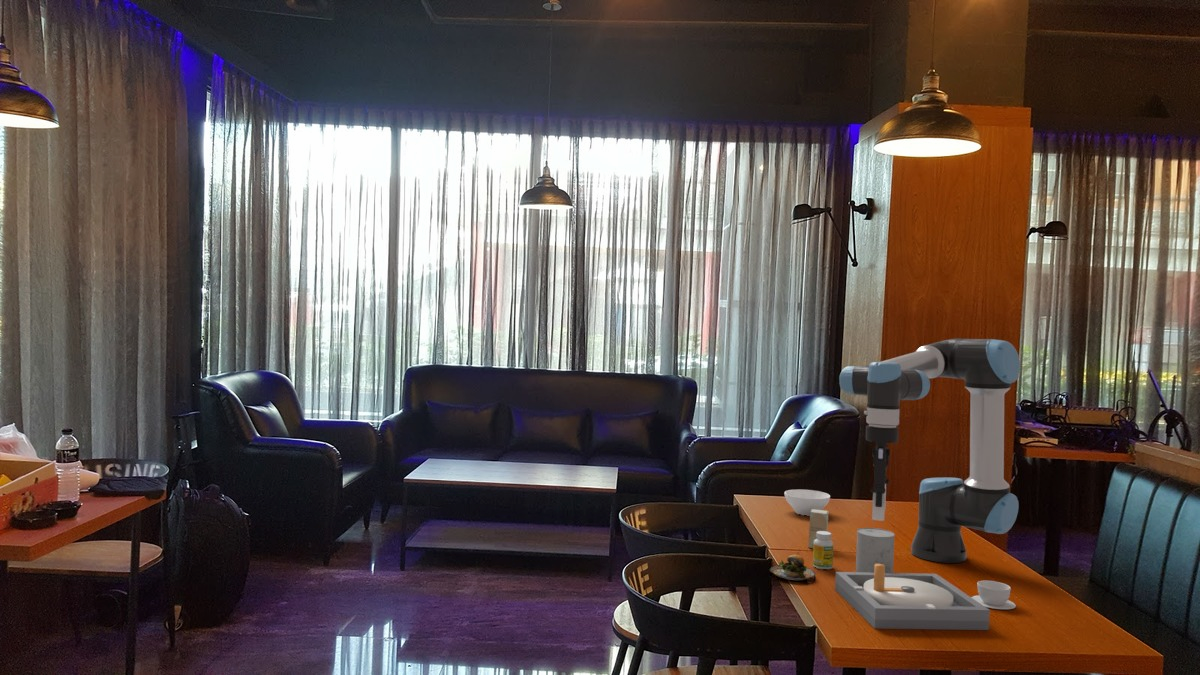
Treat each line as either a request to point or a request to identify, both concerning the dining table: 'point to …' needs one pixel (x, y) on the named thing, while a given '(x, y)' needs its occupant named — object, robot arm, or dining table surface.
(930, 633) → the dining table surface
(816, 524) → the box
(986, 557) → the dining table surface
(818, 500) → the bowl
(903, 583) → the dial
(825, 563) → the supplement bottle
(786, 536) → the dining table surface
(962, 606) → the grey square tray
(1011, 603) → the teacup
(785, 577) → the multicoloured round food plate
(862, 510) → the dining table surface
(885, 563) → the gray speckled cylinder
